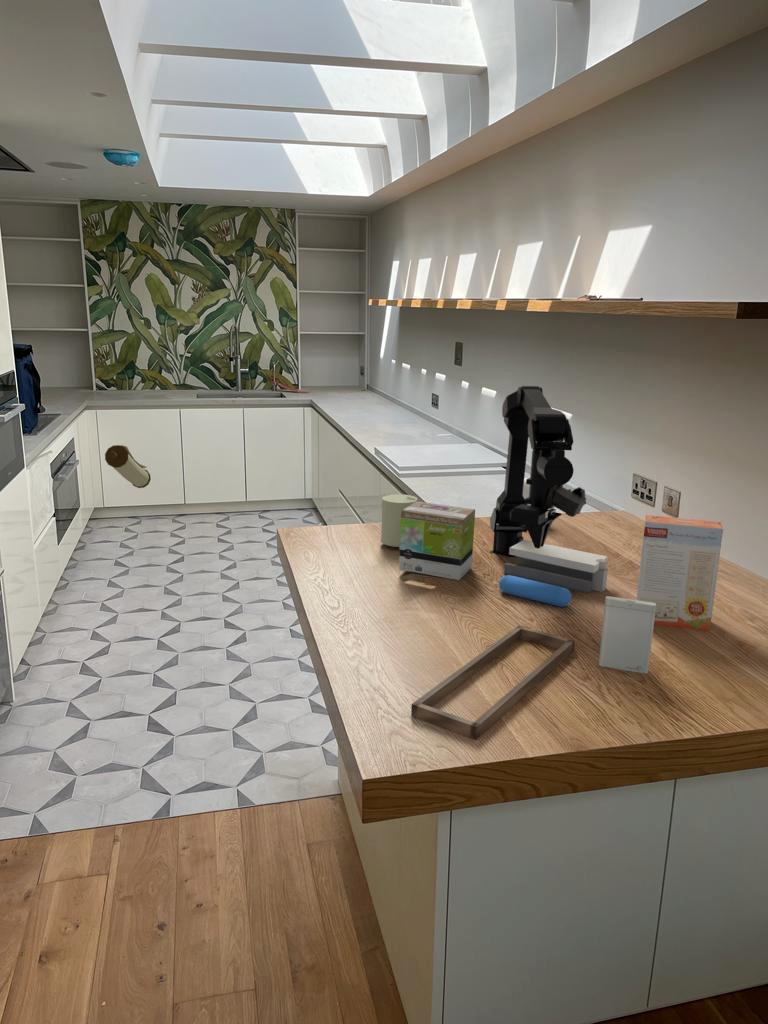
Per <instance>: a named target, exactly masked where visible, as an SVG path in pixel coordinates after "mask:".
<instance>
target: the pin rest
mask: <svg viewBox="0 0 768 1024" xmlns="http://www.w3.org/2000/svg"><path fill="white" fill-rule="evenodd" d="M519 640H525V641H527V642H531V643H534V644H535V643H536V644H537V645H538V644H539V645H543V646H546V647H550V648H552V649H553V648H554V649H556V650H555V651H554V652H553V653H552V654H551V655H550V656H548V657H546V659H545V660H544V661H543V662H541V663H540V664H539V665H538V666H536V668H535V669H533V670H532V671H531V672H530V673H529V674H527V676H525V677H524V678H523V679H522V680H521V681H520V682H518V683H517V684H516V685H515V686H514V687H513V688H511V690H509V691H508V692H507V693H506V694H504V696H502V697H501V698H499V700H498V701H497V702H495V703H494V704H492V706H491V707H490V708H489V709H487V710H486V711H485V712H484V713H483V714H481V715H480V716H479V717H478V718H477V719H476V720H475V721H472V720H470V719H467V718H463V717H461V716H458V715H455V714H452V713H449V712H446V711H444V710H440V709H439V708H438V709H437V708H436V707H433V706H434V705H436V704H437V703H439V701H441V700H443V698H445V697H446V696H447V695H449V694H450V693H452V692H453V691H454V690H455V689H457V688H458V687H459V686H461V685H462V684H464V683H465V682H466V681H467V680H469V679H470V678H471V677H472V676H474V675H475V674H476V673H477V672H479V671H480V670H482V668H484V667H485V666H487V665H488V664H489V663H491V662H492V661H493V660H494V659H496V658H497V657H498V656H500V655H501V654H502V653H504V652H505V651H506V650H508V648H510V647H512V646H513V645H514V644H515V643H517V642H518V641H519ZM575 642H576V641H575V640H574V639H570V638H567V637H563V636H559V635H555V634H551V633H548V632H543V631H540V630H536V629H533V628H528V627H525V626H522V625H517V626H516V627H515V628H513V629H512V630H510V631H509V632H508V633H507V634H505V635H504V636H502V637H501V638H499V640H497V641H495V642H494V643H493V644H491V645H490V646H489V647H487V648H486V649H485V650H483V651H482V652H480V653H479V654H477V656H475V657H473V659H471V660H470V661H468V662H467V663H466V664H464V665H462V666H461V667H460V668H459V669H457V670H456V671H455V672H453V673H452V674H451V675H449V676H448V677H446V678H445V679H444V680H443V681H440V682H439V683H438V684H437V685H435V687H433V688H431V689H430V690H428V691H427V692H425V694H424V695H422V696H420V698H418V699H417V700H415V701H413V702H412V703H411V707H410V708H411V709H410V710H411V711H410V712H411V713H410V716H411V717H413V718H416V719H418V720H420V721H424V722H427V723H430V724H432V725H435V726H437V727H441V728H443V729H445V730H447V731H448V730H449V731H452V732H454V733H456V734H459V735H462V736H465V737H468V738H471V739H473V740H478V739H479V738H480V737H481V736H482V735H483V734H484V733H485V732H487V730H489V729H490V728H491V727H492V726H493V725H494V724H495V723H496V722H498V721H499V720H500V719H501V718H502V717H503V716H504V715H506V713H508V711H510V709H512V708H513V707H514V706H515V705H516V704H517V703H519V701H520V700H522V699H523V698H524V697H525V696H526V695H527V694H528V693H529V692H530V691H532V689H533V688H535V687H536V686H537V685H538V684H539V683H541V682H542V680H544V679H545V678H546V677H547V676H548V675H549V674H551V672H552V671H554V670H555V669H556V668H557V667H558V666H559V665H560V664H561V663H562V662H563V661H564V660H566V659H567V658H568V657H569V656H570V655H571V654H572V653H573V652H574V650H575Z"/></svg>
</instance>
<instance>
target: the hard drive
mask: <svg viewBox="0 0 768 1024" xmlns="http://www.w3.org/2000/svg"><path fill="white" fill-rule="evenodd" d="M604 600H605V601H604V609H603V618H602V628H601V635H600V637H601V638H600V639H601V640H600V648H599V655H598V656H599V657H598V658H599V659H598V666H599V667H603V668H609V669H614V670H618V671H619V670H620V671H625V672H626V671H627V672H633V673H638V674H649V668H650V660H651V651H652V643H653V635H654V625H655V624H654V619H655V611H656V603H652V602H645V601H638V600H636V599H631V598H622V597H618V596H617V597H616V596H608V595H605V599H604Z"/></svg>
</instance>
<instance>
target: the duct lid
mask: <svg viewBox="0 0 768 1024" xmlns="http://www.w3.org/2000/svg"><path fill="white" fill-rule="evenodd" d="M509 554H510V555H514V556H515V557H518V556H519V557H524V558H528V559H533V560H538V561H542V562H547V563H552V564H556V565H561V566H566V567H570V568H575V569H580V570H584V571H589V572H594V573H595V572H596V571H597V570H605V569H606V568H607V567H608V566H607V565H608V555H601V554H597V553H591V552H588V551H583V550H582V551H581V550H577V549H572V548H568V547H567V548H566V547H561V546H557V545H552V544H548V543H544V545H543V547H540V548H539V549H538V548H535V547H534V544H533V542H532V540H527V539H524V540H523V541H521V542H519V543H517V544H516V545H514V546H512V547H510V550H509Z"/></svg>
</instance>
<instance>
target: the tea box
mask: <svg viewBox="0 0 768 1024" xmlns="http://www.w3.org/2000/svg"><path fill="white" fill-rule="evenodd" d="M475 521H476V509H475V508H467V507H461V506H454V505H452V506H451V505H446V504H439V503H438V504H437V503H433V502H432V503H431V502H424V501H418V500H417V501H415V502H414V503H413V504H411V505H410V506H408V507H407V508H405V509H404V510H403V511H401V526H400V547H398V549H399V551H398V554H399V555H398V569H399V571H403V572H410V573H418V574H423V575H428V576H434V577H438V578H439V577H440V578H443V579H448V580H452V581H453V580H454V581H458V582H459V581H460V580H461V579H462V578H463V577H464V576H465V575H466V574H467V573H468V572H469V571H470V570H471V568H472V565H473V563H472V562H473V552H474V536H475V533H474V532H475Z"/></svg>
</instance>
